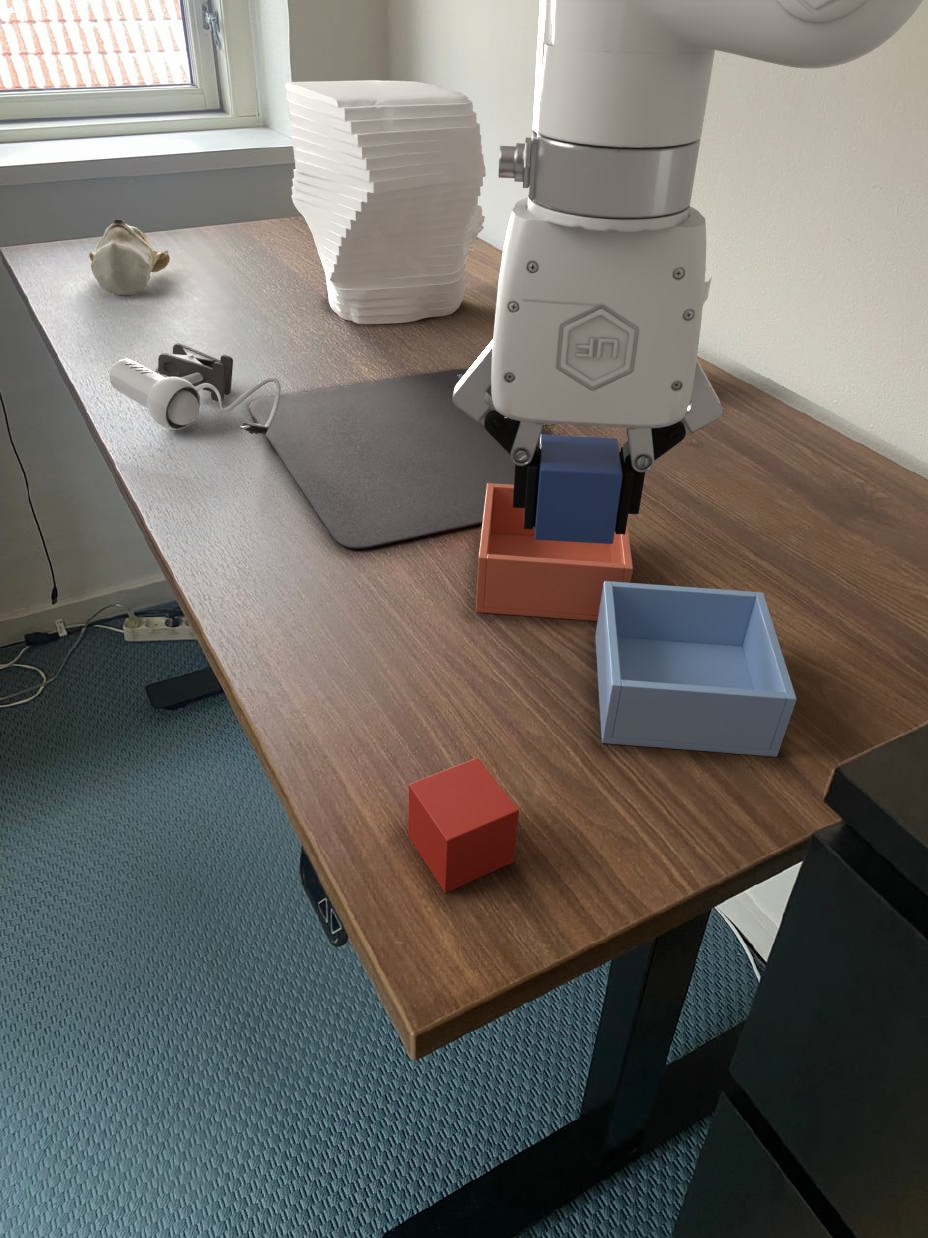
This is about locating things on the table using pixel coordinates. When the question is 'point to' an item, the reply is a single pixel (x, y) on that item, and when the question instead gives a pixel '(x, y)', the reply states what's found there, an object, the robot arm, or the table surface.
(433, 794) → the red block
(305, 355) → the table surface
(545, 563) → the red bin
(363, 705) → the table surface
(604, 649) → the blue bin
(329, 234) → the paper stack
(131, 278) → the ceramic sculpture
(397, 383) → the mouse pad
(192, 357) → the clip-on lamp
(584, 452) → the blue block
